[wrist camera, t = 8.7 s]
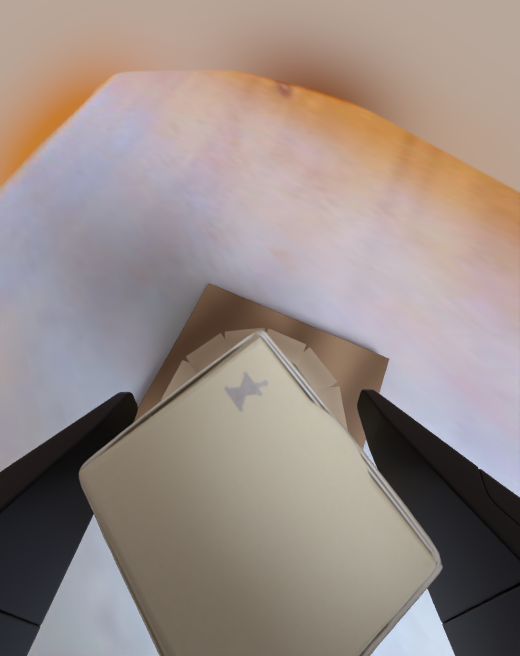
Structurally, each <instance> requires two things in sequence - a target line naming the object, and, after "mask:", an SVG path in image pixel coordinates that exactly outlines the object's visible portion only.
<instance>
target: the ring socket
mask: <svg viewBox="0 0 520 656" xmlns="http://www.w3.org/2000/svg"><path fill="white" fill-rule="evenodd" d="M258 330H263V331H265V332H267V334H268V335H269V336H270V337H271V339H272V340H273V341H274V342H275V344H276V345H277V346H278V347H279V348H280V350H281V351H282V352H283V353H284V354H285V356H286V357H287V358H288V359H289V360H290V361H291V363H292V364H293V365H294V366H295V367H296V369H297V370H298V371H299V372H300V373H301V375H302V376H303V377H304V378H305V379H306V381H307V382H308V383H309V384H310V385H311V387H312V388H313V389H314V390H315V392H316V393H317V394H318V395H319V397H320V398H321V399H322V400H323V401H324V403H325V404H326V405H327V406H328V408H329V409H330V410H331V411H332V412H333V414H334V415H335V416H336V417H337V418H338V420H339V421H340V422H341V423H342V425H343V426H344V427H345V428H346V429H347V431H348V432H349V433H350V435H351V436H352V437H353V438H354V440H355V441H356V442H357V444H358V445H359V446H360V447H361V449H362V450H363V447H364V444H365V440H366V437H365V433H364V430H363V427H362V423H361V420H360V417H359V413H358V410H357V402H358V399H359V395H360V392H361V390H362V389H373V390H375V391H376V392H378V393H379V392H380V389H381V385H382V382H383V378H384V375H385V372H386V368H387V365H388V361H389V359H388V358H386V357H384V356H381V355H379V354H377V353H374V352H372V351H369V350H367V349H365V348H362V347H360V346H357V345H355V344H353V343H350V342H348V341H345V340H343V339H341V338H338V337H336V336H334V335H331V334H329V333H326V332H324V331H322V330H319V329H317V328H314V327H312V326H310V325H307V324H305V323H303V322H300V321H298V320H295V319H293V318H291V317H288V316H286V315H283V314H281V313H279V312H276V311H274V310H271V309H269V308H267V307H264V306H262V305H260V304H257V303H255V302H252V301H250V300H248V299H245V298H243V297H240V296H238V295H236V294H233V293H231V292H228V291H226V290H224V289H221V288H219V287H217V286H214V285H212V284H208V286H207V288H206V290H205V291H204V293H203V295H202V297H201V298H200V300H199V302H198V304H197V305H196V307H195V309H194V311H193V312H192V314H191V316H190V318H189V319H188V321H187V323H186V325H185V327H184V328H183V330H182V332H181V334H180V335H179V337H178V339H177V341H176V342H175V344H174V346H173V348H172V349H171V351H170V353H169V355H168V357H167V358H166V360H165V362H164V364H163V365H162V367H161V369H160V371H159V372H158V374H157V376H156V378H155V379H154V381H153V383H152V385H151V387H150V388H149V390H148V392H147V394H146V395H145V397H144V399H143V401H142V402H141V404H140V406H139V408H138V411H137V415H136V418H135V420H134V422H135V421H137V420H138V419H139V418H140V417H141V416H143V415H144V414H145V413H146V412H148V411H149V410H150V409H152V408H153V407H154V406H155V405H157V404H158V403H159V402H161V401H162V400H163V399H165V398H166V397H167V396H169V395H170V394H171V393H172V392H174V391H175V390H176V389H178V388H179V387H180V386H182V385H183V384H184V383H186V382H187V381H188V380H190V379H191V378H192V377H193V376H195V375H196V374H197V373H199V372H200V371H201V370H203V369H204V368H206V367H207V366H208V365H210V364H211V363H212V362H214V361H215V360H216V359H218V358H219V357H220V356H222V355H223V354H225V353H226V352H227V351H229V350H230V349H231V348H233V347H234V346H235V345H237V344H238V343H239V342H241V341H242V340H243V339H244V338H246V337H247V336H249V335H250V334H252V333H254V332H255V331H258Z"/></svg>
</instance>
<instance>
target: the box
mask: <svg viewBox="0 0 520 656" xmlns="http://www.w3.org/2000/svg"><path fill="white" fill-rule="evenodd" d="M79 480H80V483H81V487H82V489H83V491H84V493H85V495H86V497H87V499H88V502H89V504H90V506H91V508H92V510H93V513H94V515H95V517H96V520H97V522H98V524H99V527H100V529H101V532H102V534H103V537H104V539H105V541H106V543H107V545H108V547H109V549H110V551H111V553H112V555H113V557H114V560H115V562H116V564H117V566H118V568H119V571H120V573H121V575H122V577H123V579H124V581H125V583H126V585H127V587H128V589H129V592H130V594H131V596H132V598H133V600H134V602H135V604H136V606H137V609H138V611H139V613H140V615H141V617H142V619H143V621H144V623H145V626H146V628H147V630H148V632H149V634H150V636H151V638H152V641H153V643H154V645H155V647H156V649H157V651H158V653H159V655H160V656H370V655H371V654H372V653H373V651H374V650H375V649H376V648H377V646H378V645H379V644H380V643H381V642H382V640H383V639H384V638H385V637H386V636H387V635H388V634H389V632H390V631H391V630H392V629H393V628H394V626H395V625H396V624H397V623H398V622H399V621H400V619H401V618H402V617H403V616H404V615H405V614H406V612H407V611H408V610H409V609H410V608H411V607H412V605H413V604H414V603H415V602H416V601H417V600H418V598H419V597H420V596H421V595H422V594H423V592H424V591H425V590H426V589H427V588H428V587H429V585H430V584H431V583H432V582H433V581H434V579H435V578H436V577H437V576H438V575H439V574H440V572H441V570H442V568H443V567H442V563H441V559H440V555H439V552H438V551H437V549H436V547H435V546H434V544H433V542H432V541H431V539H430V538H429V536H428V535H427V534H426V532H425V531H424V530H423V528H422V527H421V526H420V524H419V523H418V522H417V520H416V519H415V518H414V516H413V515H412V513H411V512H410V511H409V509H408V508H407V507H406V505H405V504H404V503H403V501H402V500H401V499H400V498H399V496H398V495H397V494H396V492H395V491H394V490H393V489H392V487H391V486H390V485H389V483H388V482H387V481H386V480H385V478H384V477H383V476H382V474H381V473H380V472H379V471H378V469H377V468H376V467H375V466H374V464H373V463H372V462H371V460H370V459H369V458H368V456H367V455H366V454H365V452H364V451H363V450H362V449H361V447H360V446H359V445H358V444H357V442H356V441H355V440H354V438H353V437H352V436H351V435H350V433H349V432H348V431H347V429H346V428H345V427H344V426H343V425H342V423H341V422H340V421H339V420H338V418H337V417H336V416H335V415H334V414H333V412H332V411H331V410H330V409H329V408H328V406H327V405H326V404H325V403H324V401H323V400H322V399H321V398H320V397H319V395H318V394H317V393H316V392H315V390H314V389H313V388H312V387H311V385H310V384H309V383H308V382H307V381H306V379H305V378H304V377H303V376H302V375H301V373H300V372H299V371H298V370H297V369H296V367H295V366H294V365H293V364H292V363H291V361H290V360H289V359H288V358H287V357H286V356H285V354H284V353H283V352H282V351H281V350H280V348H279V347H278V346H277V345H276V344H275V342H274V341H273V340H272V339H271V337H270V336H269V335H268V334H267V332H265V331H263V330H258V331H255V332H254V333H252V334H250V335H249V336H247V337H246V338H244V339H243V340H242V341H241V342H239V343H238V344H237V345H235V346H234V347H233V348H231V349H230V350H229V351H227V352H226V353H225V354H223V355H222V356H220V357H219V358H218V359H216V360H215V361H214V362H212V363H211V364H210V365H208V366H207V367H206V368H204V369H203V370H201V371H200V372H199V373H197V374H196V375H195V376H193V377H192V378H191V379H190V380H188V381H187V382H186V383H184V384H183V385H182V386H180V387H179V388H178V389H176V390H175V391H174V392H172V393H171V394H170V395H169V396H167V397H166V398H165V399H163V400H162V401H161V402H159V403H158V404H157V405H155V406H154V407H153V408H152V409H150V410H149V411H148V412H146V413H145V414H144V415H143V416H141V417H140V418H139V419H138V420H137V421H135V422H134V423H133V424H132V425H130V426H129V427H128V428H126V429H125V430H124V431H122V432H121V433H120V434H119V435H118V436H116V437H115V438H114V439H113V440H112V441H111V442H109V443H108V444H107V445H105V446H104V447H103V448H102V449H100V450H99V451H98V452H97V453H95V454H94V455H93V456H92V457H90V458H89V459H88V460H87V461H86V462H85V463H84V464H83V465H82V467H81V468H80V472H79Z"/></svg>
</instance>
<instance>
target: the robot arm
mask: <svg viewBox="0 0 520 656" xmlns="http://www.w3.org/2000/svg"><path fill="white" fill-rule="evenodd" d="M357 410H358V413H359V417H360V420H361V423H362V427H363V430H364V433H365V437H366V440H367V443H368V446H369V449H370V452H371V454H372V457H373V459H374V462H375V464H376V466H377V469H378V471H379V472H380V473H381V474H382V476H383V477H384V478H385V480H386V481H387V482H388V483H389V485H390V486H391V487H392V489H393V490H394V491H395V492H396V494H397V495H398V496H399V498H400V499H401V500H402V501H403V503H404V504H405V505H406V507H407V508H408V509H409V511H410V512H411V513H412V515H413V516H414V518H415V519H416V520H417V522H418V523H419V524H420V526H421V527H422V528H423V530H424V531H425V532H426V534H427V535H428V536H429V538H430V539H431V541H432V542H433V544H434V546H435V547H436V549H437V551H438V552H439V555H440V559H441V563H442V567H443V568H442V570H441V572H440V574H439V575H438V576H437V577H436V578H435V579H434V581H433V582H432V583H431V584H430V585H429V587H428V588H427V589H428V591H429V593H430V596H431V598H432V601H433V603H434V605H435V608H436V610H437V613H438V615H439V617H440V620H441V622H442V623H443V624H442V625H443V628H444V630H445V632H446V635H447V637H448V640H449V642H450V644H451V647H452V649H453V652H454V654H455V656H520V497H518V496H517V495H516V494H514V493H513V492H511V491H510V490H509V489H507V488H506V487H505V486H503V485H502V484H500V483H499V482H498V481H496V480H495V479H494V478H492V477H491V476H490V475H488V474H487V473H485V472H484V471H483V470H481V469H478V467H477V466H476V465H475V464H473V463H472V462H471V461H469V460H468V459H467V458H465V457H464V456H462V455H461V454H460V453H458V452H457V451H456V450H454V449H453V448H452V447H450V446H449V445H448V444H446V443H445V442H444V441H442V440H441V439H440V438H438V437H437V436H436V435H434V434H433V433H432V432H430V431H429V430H427V429H426V428H425V427H423V426H422V425H421V424H419V423H418V422H417V421H415V420H414V419H413V418H411V417H410V416H409V415H407V414H406V413H405V412H403V411H402V410H401V409H399V408H398V407H397V406H395V405H394V404H392V403H391V402H390V401H388V400H387V399H386V398H384V397H383V396H382V395H380V394H379V393H378V392H376V391H375V390H373V389H362V390H361V392H360V395H359V399H358V402H357ZM137 411H138V406H137V404H136V401H135V399H134V396H133V394H132V393H131V392H120V393H118V394H116V395H115V396H113V397H112V398H110V399H109V400H107V401H106V402H104V403H103V404H101V405H100V406H98V407H97V408H95V409H94V410H92V411H91V412H89V413H88V414H86V415H85V416H83V417H82V418H80V419H79V420H77V421H76V422H74V423H73V424H71V425H70V426H68V427H67V428H65V429H64V430H62V431H61V432H59V433H58V434H56V435H55V436H53V437H52V438H50V439H49V440H47V441H46V442H44V443H43V444H41V445H40V446H38V447H37V448H35V449H34V450H32V451H31V452H29V453H28V454H26V455H25V456H23V457H22V458H20V459H19V460H17V461H16V462H14V463H13V464H11V465H10V466H8V467H7V468H5V469H4V470H2V471H1V472H0V656H27V654H28V652H29V650H30V648H31V646H32V644H33V642H34V640H35V637H36V635H37V633H38V631H39V629H40V625H41V624H42V622H43V620H44V618H45V616H46V614H47V612H48V610H49V607H50V605H51V603H52V601H53V599H54V597H55V595H56V593H57V590H58V588H59V586H60V584H61V582H62V580H63V578H64V576H65V574H66V571H67V569H68V567H69V565H70V563H71V561H72V559H73V557H74V555H75V552H76V550H77V548H78V546H79V544H80V542H81V540H82V538H83V535H84V533H85V531H86V529H87V527H88V525H89V523H90V521H91V519H92V516H93V514H94V513H93V510H92V508H91V506H90V504H89V502H88V499H87V497H86V495H85V493H84V491H83V489H82V487H81V483H80V480H79V472H80V468H81V467H82V465H83V464H84V463H85V462H86V461H87V460H88V459H89V458H90V457H92V456H93V455H94V454H95V453H97V452H98V451H99V450H100V449H102V448H103V447H104V446H105V445H107V444H108V443H109V442H111V441H112V440H113V439H114V438H115V437H116V436H118V435H119V434H120V433H121V432H122V431H124V430H125V429H126V428H128V427H129V426H130V425H132V424H133V423H134V420H135V418H136V415H137Z"/></svg>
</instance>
